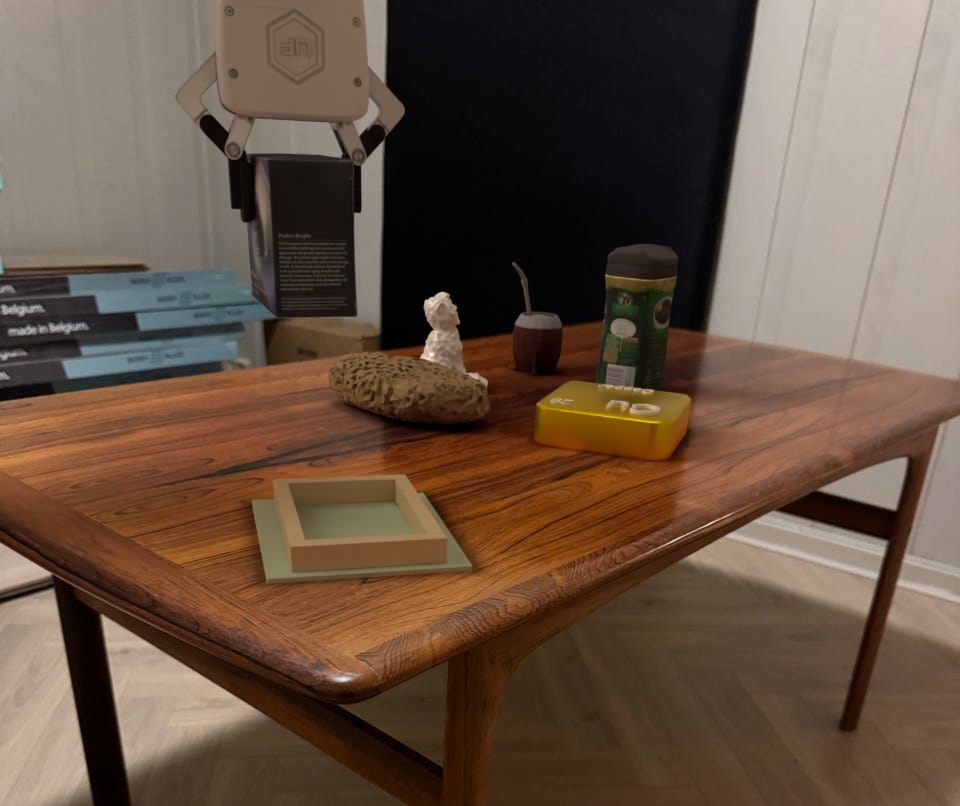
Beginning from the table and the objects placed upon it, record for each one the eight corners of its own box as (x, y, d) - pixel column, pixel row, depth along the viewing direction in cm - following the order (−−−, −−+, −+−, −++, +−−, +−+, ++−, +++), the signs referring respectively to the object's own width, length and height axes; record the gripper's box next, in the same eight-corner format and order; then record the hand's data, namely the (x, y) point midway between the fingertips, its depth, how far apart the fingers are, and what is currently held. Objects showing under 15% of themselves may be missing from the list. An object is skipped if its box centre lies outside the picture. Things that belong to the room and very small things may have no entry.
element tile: (688, 431, 111) (695, 390, 109) (666, 465, 98) (673, 418, 96) (564, 415, 115) (568, 374, 113) (528, 444, 103) (531, 400, 100)
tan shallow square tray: (267, 586, 67) (265, 552, 66) (251, 506, 81) (250, 477, 80) (472, 573, 71) (474, 540, 70) (423, 498, 85) (423, 470, 84)
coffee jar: (618, 383, 133) (635, 239, 125) (670, 392, 129) (690, 245, 121) (583, 393, 126) (598, 242, 118) (637, 404, 122) (656, 248, 114)
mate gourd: (560, 369, 140) (569, 260, 133) (558, 380, 133) (568, 265, 126) (509, 366, 140) (516, 256, 133) (505, 377, 133) (512, 262, 126)
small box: (246, 297, 76) (237, 150, 72) (326, 297, 79) (323, 154, 74) (271, 318, 68) (262, 153, 63) (360, 318, 70) (358, 158, 65)
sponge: (317, 415, 114) (400, 419, 98) (320, 347, 113) (405, 340, 97) (411, 424, 122) (502, 430, 106) (416, 361, 120) (509, 357, 104)
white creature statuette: (491, 395, 123) (496, 297, 117) (430, 399, 119) (432, 298, 114) (461, 379, 130) (464, 286, 125) (402, 382, 127) (403, 287, 121)
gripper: (145, -104, 57) (175, 223, 65) (428, -71, 61) (423, 230, 70) (146, -80, 63) (174, 215, 71) (403, -52, 68) (401, 222, 76)
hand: (297, 220), depth 70 cm, fingers closed on small box, 6 cm apart
